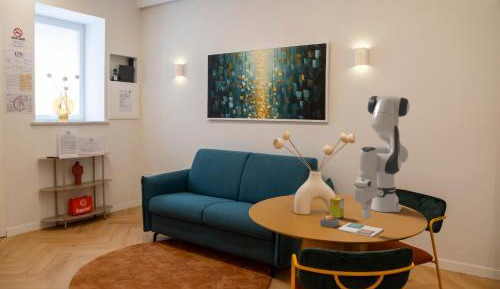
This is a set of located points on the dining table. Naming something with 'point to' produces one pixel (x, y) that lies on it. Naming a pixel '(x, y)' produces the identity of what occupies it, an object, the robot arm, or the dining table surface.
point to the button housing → (329, 222)
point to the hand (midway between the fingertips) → (366, 209)
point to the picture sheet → (360, 229)
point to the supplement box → (337, 207)
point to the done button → (330, 218)
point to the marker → (367, 212)
